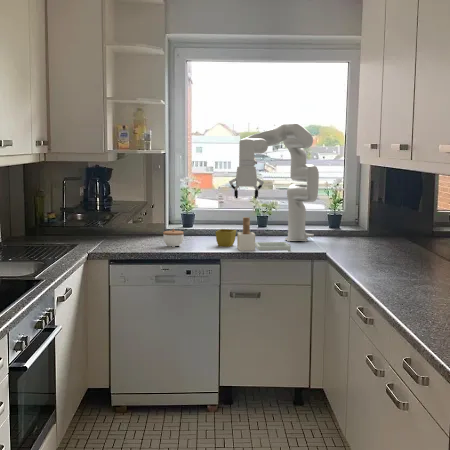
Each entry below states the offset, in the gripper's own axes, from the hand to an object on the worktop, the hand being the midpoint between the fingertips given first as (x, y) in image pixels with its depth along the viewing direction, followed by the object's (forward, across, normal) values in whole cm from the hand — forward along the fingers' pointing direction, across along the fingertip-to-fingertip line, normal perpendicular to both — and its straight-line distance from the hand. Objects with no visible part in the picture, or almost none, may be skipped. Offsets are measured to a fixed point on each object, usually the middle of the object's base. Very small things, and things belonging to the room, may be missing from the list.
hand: (246, 198), depth 318 cm
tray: (+26, -14, -4) cm, 30 cm away
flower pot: (+27, +9, -12) cm, 31 cm away
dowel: (+26, 0, 0) cm, 26 cm away
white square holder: (+27, 0, 0) cm, 27 cm away
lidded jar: (+27, +36, -18) cm, 48 cm away
